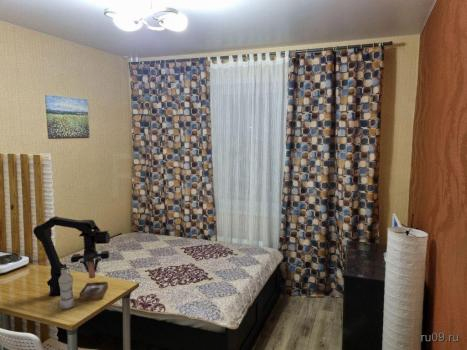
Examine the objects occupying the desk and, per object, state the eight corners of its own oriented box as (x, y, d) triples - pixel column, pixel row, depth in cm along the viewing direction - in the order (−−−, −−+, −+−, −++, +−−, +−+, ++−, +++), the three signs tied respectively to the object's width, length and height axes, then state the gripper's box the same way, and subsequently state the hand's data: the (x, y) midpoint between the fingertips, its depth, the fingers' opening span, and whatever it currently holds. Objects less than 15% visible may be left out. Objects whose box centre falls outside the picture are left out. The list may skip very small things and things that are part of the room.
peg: (89, 276, 184) (88, 260, 183) (95, 275, 185) (94, 259, 184) (88, 278, 181) (87, 262, 180) (95, 277, 182) (93, 261, 181)
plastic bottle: (63, 304, 172) (60, 266, 170) (76, 304, 172) (74, 266, 170) (57, 311, 166) (55, 272, 163) (71, 310, 166) (69, 271, 164)
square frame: (80, 300, 176) (79, 293, 176) (87, 289, 189) (87, 282, 188) (101, 299, 177) (101, 291, 177) (107, 288, 190) (107, 281, 190)
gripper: (67, 250, 171) (70, 280, 172) (106, 246, 176) (108, 275, 177) (71, 244, 181) (74, 271, 183) (108, 240, 186) (110, 267, 188)
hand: (91, 271), depth 183 cm, fingers closed on peg, 3 cm apart
